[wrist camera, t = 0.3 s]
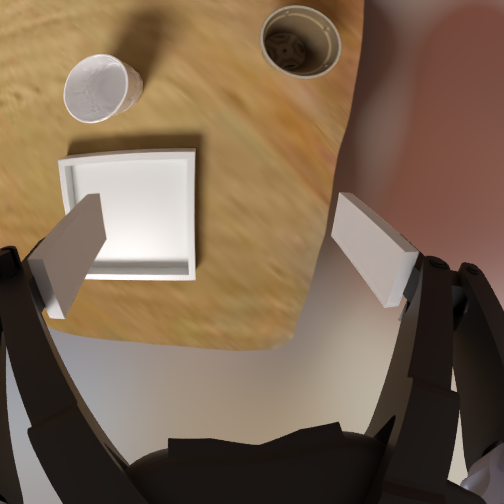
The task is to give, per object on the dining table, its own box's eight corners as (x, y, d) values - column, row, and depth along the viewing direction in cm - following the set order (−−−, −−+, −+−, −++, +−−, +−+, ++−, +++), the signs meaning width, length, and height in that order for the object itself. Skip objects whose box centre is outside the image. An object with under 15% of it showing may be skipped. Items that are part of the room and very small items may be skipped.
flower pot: (234, 46, 31) (241, 33, 24) (286, 10, 29) (305, -8, 21) (280, 94, 35) (298, 94, 28) (328, 58, 33) (356, 52, 26)
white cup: (96, 66, 29) (65, 60, 20) (149, 60, 30) (130, 49, 22) (94, 118, 33) (63, 127, 24) (146, 114, 34) (127, 119, 26)
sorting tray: (66, 155, 35) (58, 160, 32) (195, 147, 38) (195, 151, 35) (85, 268, 45) (80, 278, 42) (195, 269, 48) (195, 280, 45)
